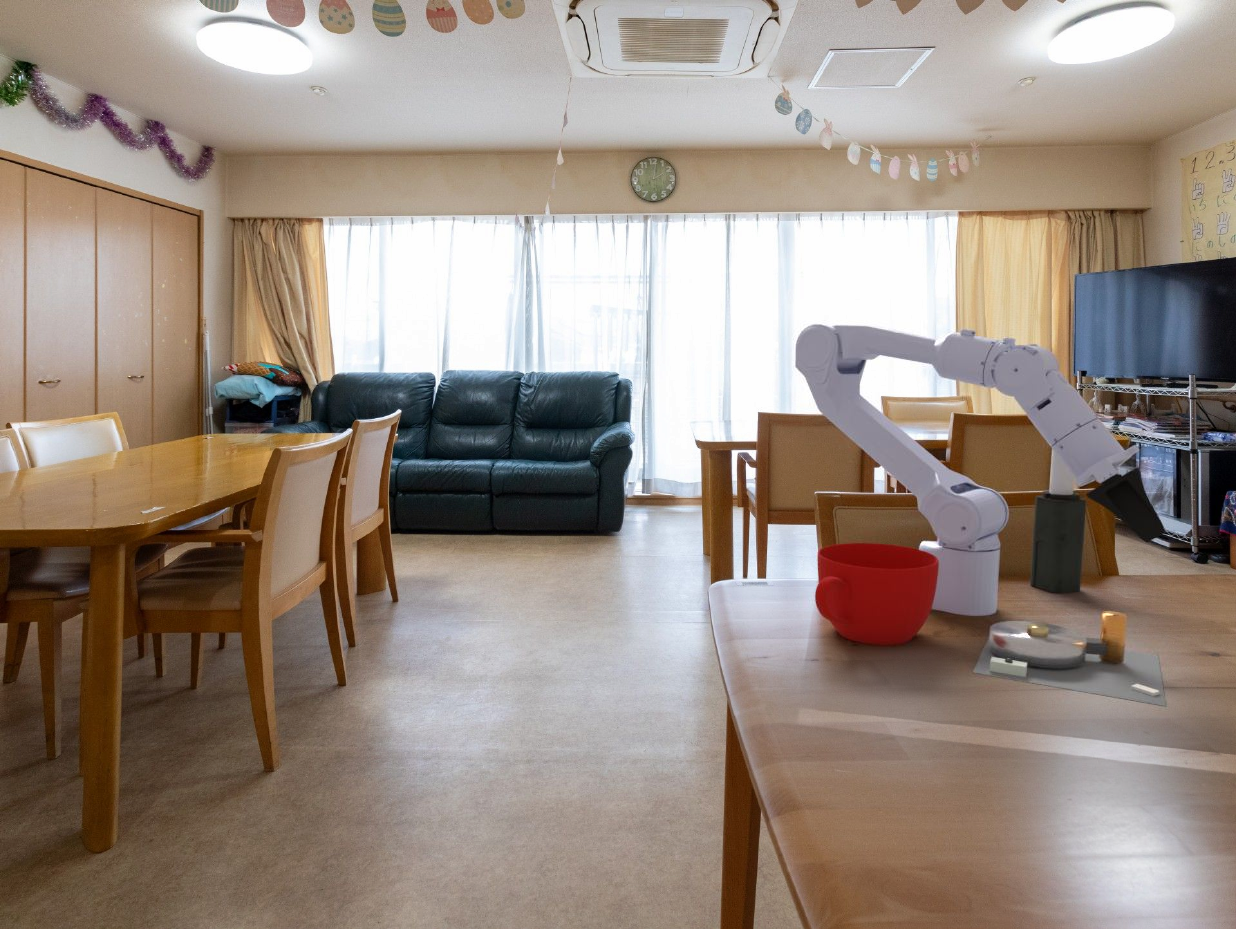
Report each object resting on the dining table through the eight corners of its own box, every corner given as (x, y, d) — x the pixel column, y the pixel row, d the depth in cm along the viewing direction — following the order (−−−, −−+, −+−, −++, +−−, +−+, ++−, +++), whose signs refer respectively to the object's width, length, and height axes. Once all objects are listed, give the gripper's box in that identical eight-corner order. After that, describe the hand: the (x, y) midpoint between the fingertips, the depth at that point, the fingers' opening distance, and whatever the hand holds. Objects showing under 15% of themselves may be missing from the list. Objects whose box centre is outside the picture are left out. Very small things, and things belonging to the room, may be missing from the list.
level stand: (972, 682, 83) (973, 659, 82) (990, 639, 95) (992, 619, 95) (1165, 716, 75) (1167, 691, 74) (1157, 664, 87) (1159, 642, 87)
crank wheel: (996, 663, 84) (999, 618, 84) (982, 635, 93) (985, 594, 92) (1137, 675, 81) (1141, 628, 80) (1110, 645, 89) (1113, 602, 89)
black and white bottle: (1026, 584, 119) (1037, 408, 116) (1054, 581, 121) (1066, 408, 117) (1054, 593, 114) (1066, 410, 111) (1084, 590, 116) (1097, 410, 113)
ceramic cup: (768, 646, 93) (770, 558, 92) (857, 617, 104) (860, 538, 102) (870, 680, 83) (874, 582, 82) (957, 644, 94) (961, 556, 93)
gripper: (1105, 405, 86) (1196, 516, 82) (1111, 418, 99) (1191, 516, 94) (1042, 444, 89) (1126, 554, 85) (1056, 452, 102) (1130, 548, 97)
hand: (1156, 536), depth 90 cm, fingers open, 7 cm apart
